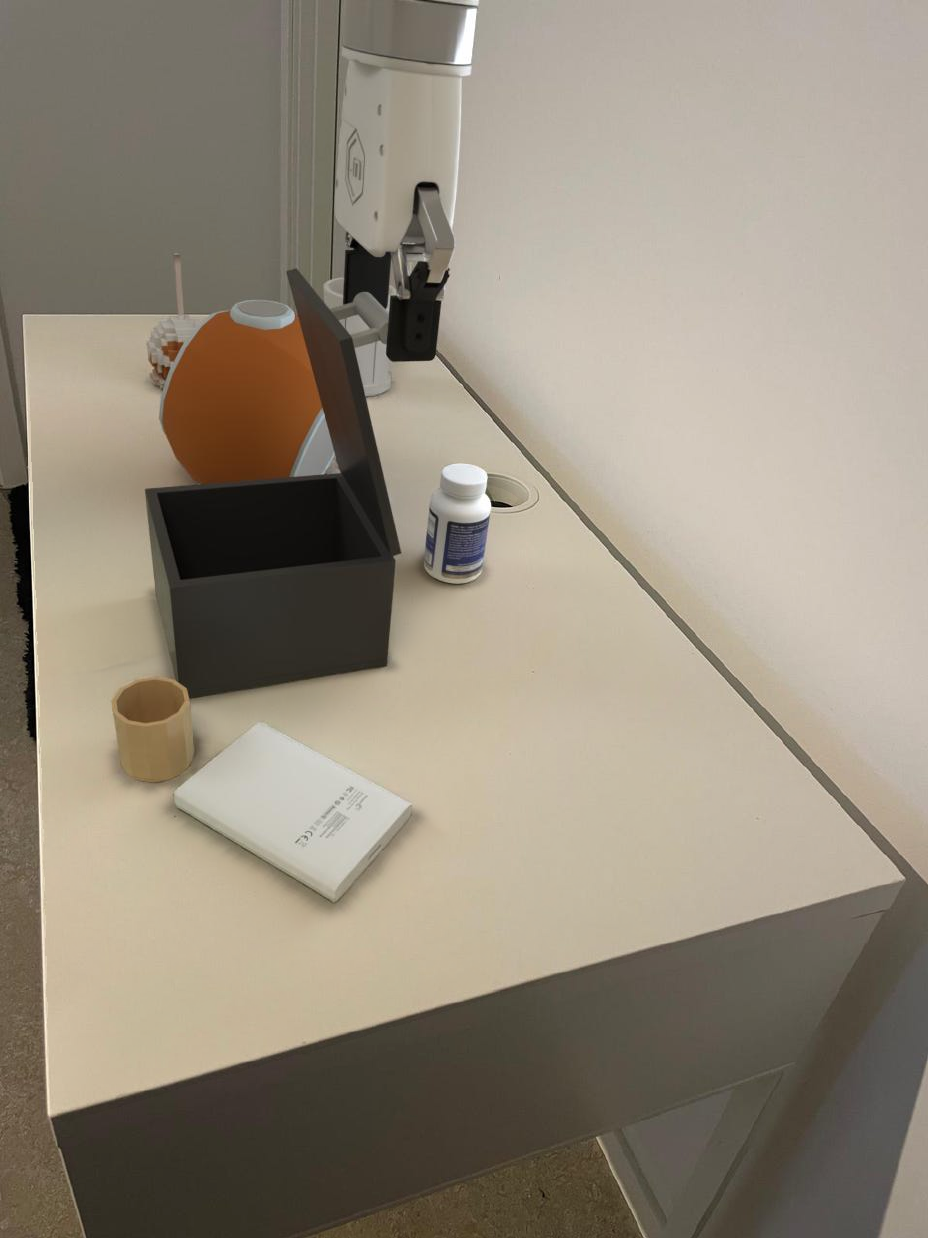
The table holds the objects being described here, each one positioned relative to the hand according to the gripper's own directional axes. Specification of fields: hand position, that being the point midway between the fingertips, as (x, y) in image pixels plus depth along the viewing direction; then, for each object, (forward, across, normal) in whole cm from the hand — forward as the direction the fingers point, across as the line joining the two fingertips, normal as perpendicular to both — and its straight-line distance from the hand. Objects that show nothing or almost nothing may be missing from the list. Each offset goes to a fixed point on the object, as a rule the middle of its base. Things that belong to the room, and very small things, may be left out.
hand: (386, 332), depth 61 cm
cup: (+24, -47, +13) cm, 54 cm away
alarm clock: (+24, -25, -3) cm, 35 cm away
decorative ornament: (+24, -50, -7) cm, 56 cm away
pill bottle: (+24, -5, +10) cm, 26 cm away
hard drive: (+24, +19, -11) cm, 33 cm away
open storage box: (+24, 0, -8) cm, 25 cm away
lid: (+6, 0, -3) cm, 7 cm away
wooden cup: (+24, +12, -18) cm, 32 cm away
